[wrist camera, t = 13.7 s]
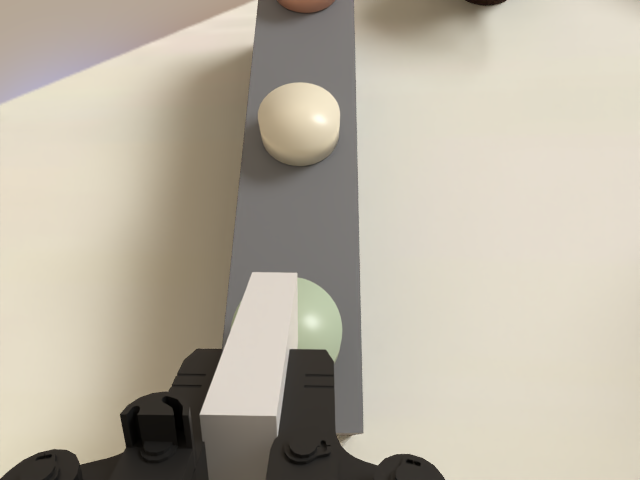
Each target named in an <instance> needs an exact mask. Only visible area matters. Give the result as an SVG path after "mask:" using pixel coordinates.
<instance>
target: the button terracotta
mask: <svg viewBox="0 0 640 480" xmlns="http://www.w3.org/2000/svg"><path fill="white" fill-rule="evenodd" d="M277 1H278V2H279V4H281V5H282V6H283V7H285V8H286V9H289V10H291V11H294V12H300V13H312V12H317V11H320V10H323V9H325V8H327V7H329V6H330V5H331V4H332V3H333V2H334V1H335V0H277Z"/></svg>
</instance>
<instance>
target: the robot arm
mask: <svg viewBox="0 0 640 480" xmlns="http://www.w3.org/2000/svg"><path fill="white" fill-rule="evenodd" d="M297 348H298V288H297V273H281V272H252V274H251V277H250V280H249V282H248V285H247V288H246V291H245V293H244V296H243V299H242V301H241V304H240V307H239V309H238V312H237V315H236V318H235V320H234V323H233V326H232V328H231V331H230V334H229V336H228V339H227V342H226V345H225V347H224V349H196V350H195V351H194V352H193V353H192V354H191V355H189V356H188V357H187V358H186V359H185V360H184V361H183V363H182V365H181V367H180V369H179V371H178V373H177V376H176V377H175V379H174V382H173V384H172V387H171V388H170V390H169V392H159V393H152V394H149V395H146V396H143V397H140V398H138V399H137V400H135V401H134V402H132V403H131V404H129V405H128V406H127V407H126V408H125V409H124V410H123V412H122V413H121V414H120V417H121V422H122V428H123V433H124V438H125V443H126V449H125V451H124V452H123V453H121V454H119V455H116V456H113V457H110V458H107V459H103V460H98V461H94V462H90V463H86V464H82V465H80V463H79V461H78V459H77V457H76V455H75V454H73V453H71V452H70V451H68V450H57V449H53V450H49V451H44V452H40V453H37V454H35V455H33V456H31V457H29V458H27V459H24V460H23V461H21V462H20V463H19V464H17V465H16V466H15V467H13V468H12V469H11V470H9V471H8V472H7V473H6V474H5V475H4V476H3V477H2V478H1V479H0V480H445V479H444V477H443V475H442V474H441V473H440V472H439V471H438V469H437V468H436V467H435V466H434V465H433V464H431V463H430V462H428V461H426V460H425V459H423V458H421V457H417V456H414V455H411V454H396V455H393V456H390V457H388V458H385V459H384V460H383V461H382V462H381V463H380V464H379V465H378V466H377V465H374V464H371V463H368V462H364V461H362V460H360V459H357V458H355V457H353V456H352V455H350V454H349V453H348V452H346V451H345V450H344V448H343V447H342V446H341V445H340V443H339V441H338V439H337V436H336V431H335V389H334V361H333V359H332V358H331V356H330V355H329V353H328V352H327V350H326V349H297Z"/></svg>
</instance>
